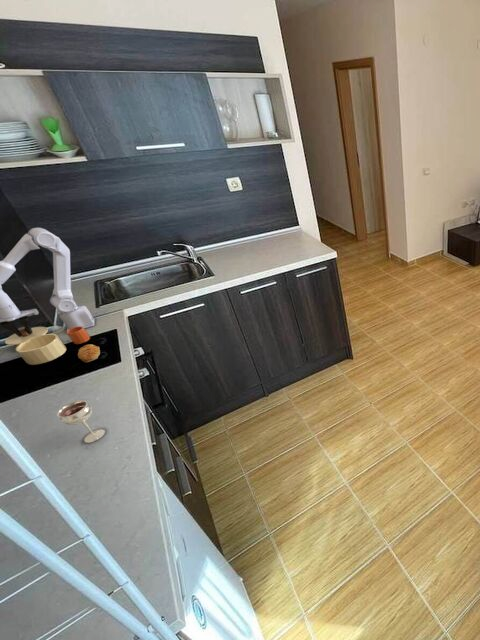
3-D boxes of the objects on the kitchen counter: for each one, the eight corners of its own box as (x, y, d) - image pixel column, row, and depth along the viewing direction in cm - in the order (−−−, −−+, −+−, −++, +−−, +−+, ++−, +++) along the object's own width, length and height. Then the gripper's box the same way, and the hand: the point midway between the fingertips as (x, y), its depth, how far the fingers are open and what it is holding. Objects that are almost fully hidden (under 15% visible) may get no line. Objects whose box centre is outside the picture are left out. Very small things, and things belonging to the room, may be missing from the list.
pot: (66, 342, 148) (57, 330, 144) (66, 356, 140) (56, 343, 137) (27, 354, 141) (17, 341, 138) (24, 368, 134) (13, 355, 130)
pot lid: (49, 325, 153) (43, 316, 151) (48, 338, 145) (41, 329, 143) (8, 336, 146) (1, 327, 144) (4, 350, 138) (-4, 341, 136)
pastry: (103, 358, 138) (98, 351, 136) (81, 366, 135) (75, 358, 132) (100, 348, 144) (95, 341, 142) (79, 355, 140) (73, 348, 138)
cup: (90, 335, 152) (83, 324, 149) (90, 340, 149) (83, 330, 146) (74, 339, 149) (66, 329, 146) (73, 345, 146) (66, 335, 143)
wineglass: (93, 446, 103) (70, 419, 97) (74, 443, 104) (50, 416, 98) (114, 428, 109) (93, 401, 102) (96, 425, 110) (74, 398, 103)
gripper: (-26, 316, 131) (-1, 345, 138) (28, 303, 139) (48, 331, 146) (-22, 309, 136) (2, 337, 143) (29, 297, 143) (49, 324, 151)
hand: (25, 334), depth 145 cm, fingers closed on pot lid, 2 cm apart
